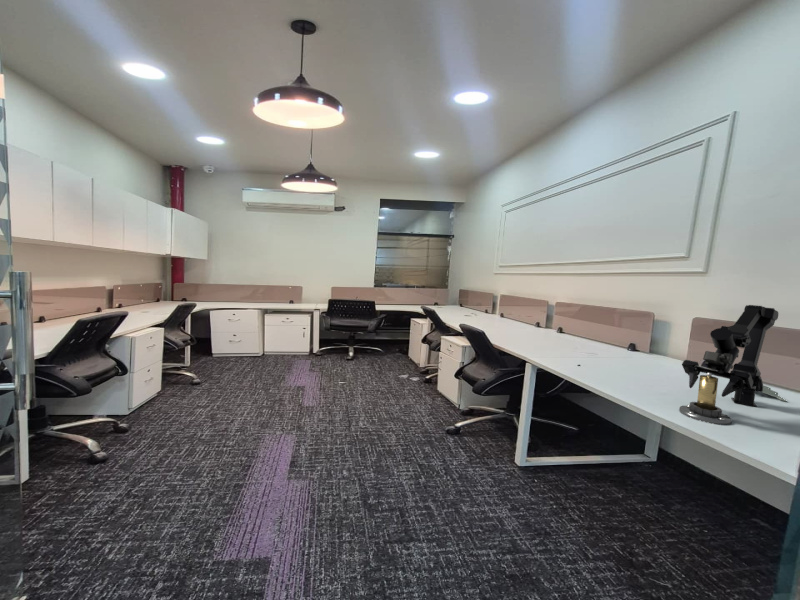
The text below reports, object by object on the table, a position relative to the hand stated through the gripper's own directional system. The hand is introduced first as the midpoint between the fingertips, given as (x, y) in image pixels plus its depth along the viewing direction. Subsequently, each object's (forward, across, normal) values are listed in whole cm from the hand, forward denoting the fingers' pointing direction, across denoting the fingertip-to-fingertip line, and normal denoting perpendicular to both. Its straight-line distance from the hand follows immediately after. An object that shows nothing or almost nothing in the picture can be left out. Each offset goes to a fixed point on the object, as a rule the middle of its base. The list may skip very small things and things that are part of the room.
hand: (705, 391), depth 123 cm
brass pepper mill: (+5, 0, +7) cm, 8 cm away
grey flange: (+5, 0, +7) cm, 9 cm away
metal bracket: (-34, -2, +48) cm, 59 cm away
